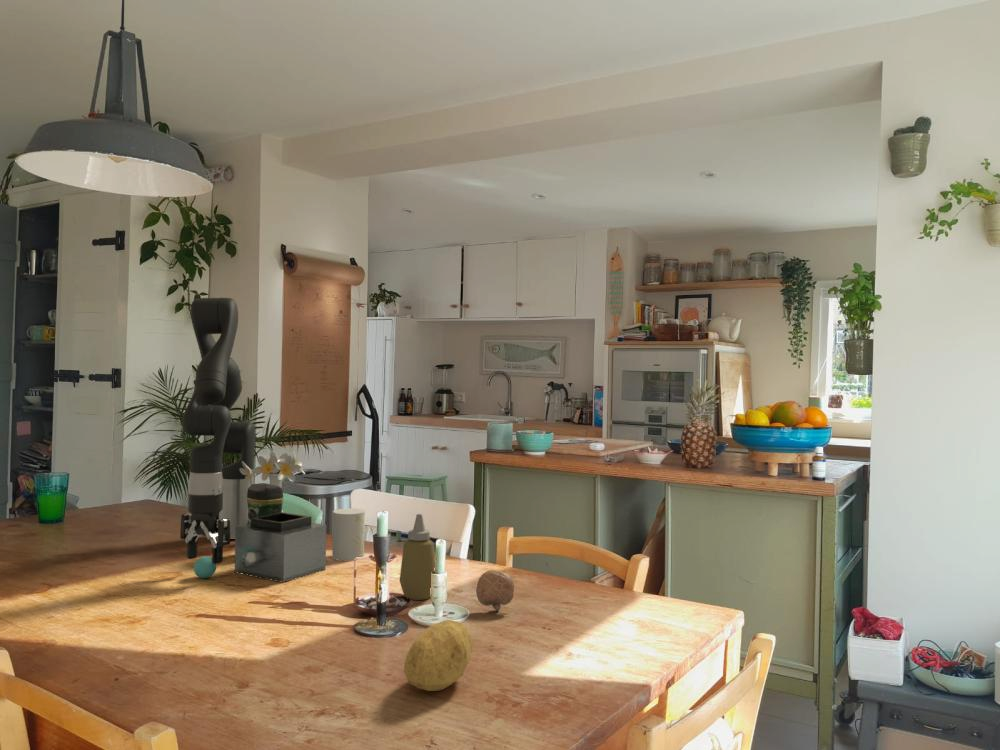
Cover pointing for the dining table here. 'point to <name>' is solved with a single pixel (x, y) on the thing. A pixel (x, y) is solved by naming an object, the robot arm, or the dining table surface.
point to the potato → (438, 656)
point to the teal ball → (204, 567)
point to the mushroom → (495, 589)
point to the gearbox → (280, 547)
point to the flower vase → (273, 468)
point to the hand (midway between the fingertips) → (204, 560)
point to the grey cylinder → (348, 533)
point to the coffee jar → (264, 500)
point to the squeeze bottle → (417, 562)
